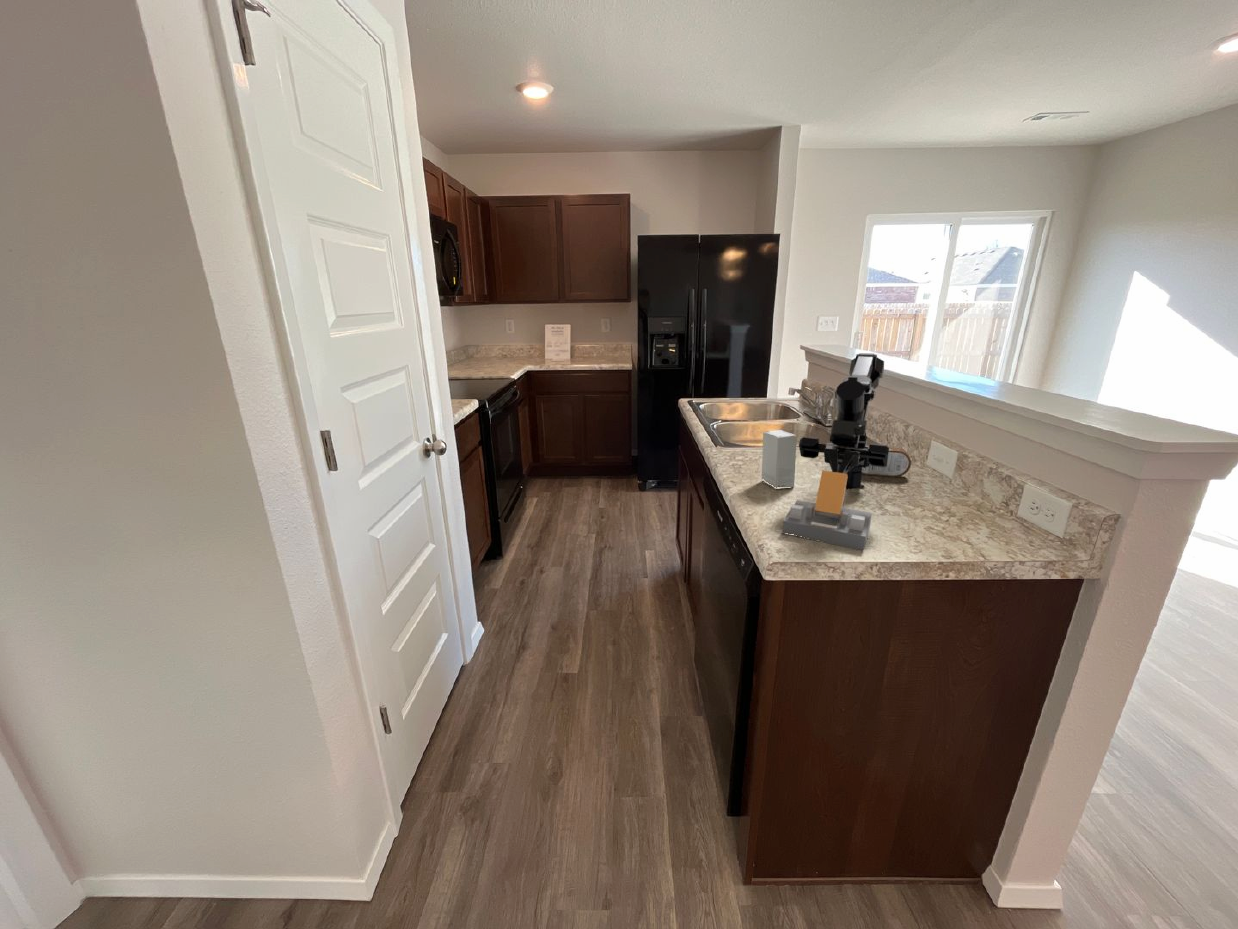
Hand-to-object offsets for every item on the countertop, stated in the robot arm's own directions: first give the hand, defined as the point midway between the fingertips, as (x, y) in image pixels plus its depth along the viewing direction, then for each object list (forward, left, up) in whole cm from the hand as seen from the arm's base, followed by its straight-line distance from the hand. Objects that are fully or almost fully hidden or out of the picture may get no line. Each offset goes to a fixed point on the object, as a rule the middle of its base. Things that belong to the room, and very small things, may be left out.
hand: (835, 482), depth 109 cm
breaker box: (+5, -5, -9) cm, 11 cm away
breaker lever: (+6, -6, -4) cm, 9 cm away
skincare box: (-25, +1, -9) cm, 26 cm away
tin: (-24, +34, -9) cm, 42 cm away
